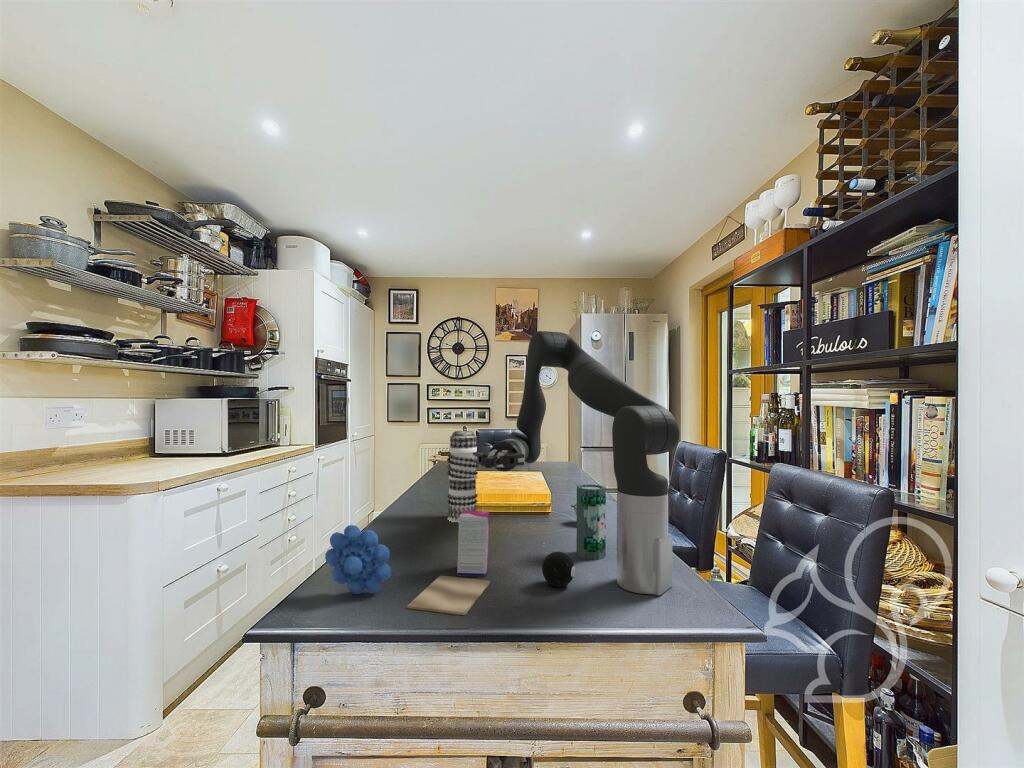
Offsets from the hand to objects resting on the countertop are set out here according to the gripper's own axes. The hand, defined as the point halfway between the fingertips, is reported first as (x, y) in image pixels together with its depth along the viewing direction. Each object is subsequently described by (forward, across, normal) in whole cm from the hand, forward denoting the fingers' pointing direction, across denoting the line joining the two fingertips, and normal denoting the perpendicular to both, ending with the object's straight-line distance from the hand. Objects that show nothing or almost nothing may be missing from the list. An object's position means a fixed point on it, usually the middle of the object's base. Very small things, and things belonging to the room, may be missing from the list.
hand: (488, 463), depth 106 cm
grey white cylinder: (-28, -16, +21) cm, 38 cm away
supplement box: (+10, 0, +20) cm, 23 cm away
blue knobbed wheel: (+27, -15, +20) cm, 37 cm away
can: (-6, +22, +20) cm, 31 cm away
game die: (-33, +19, +20) cm, 43 cm away
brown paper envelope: (+22, 0, +20) cm, 30 cm away
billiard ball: (+13, +18, +20) cm, 30 cm away
